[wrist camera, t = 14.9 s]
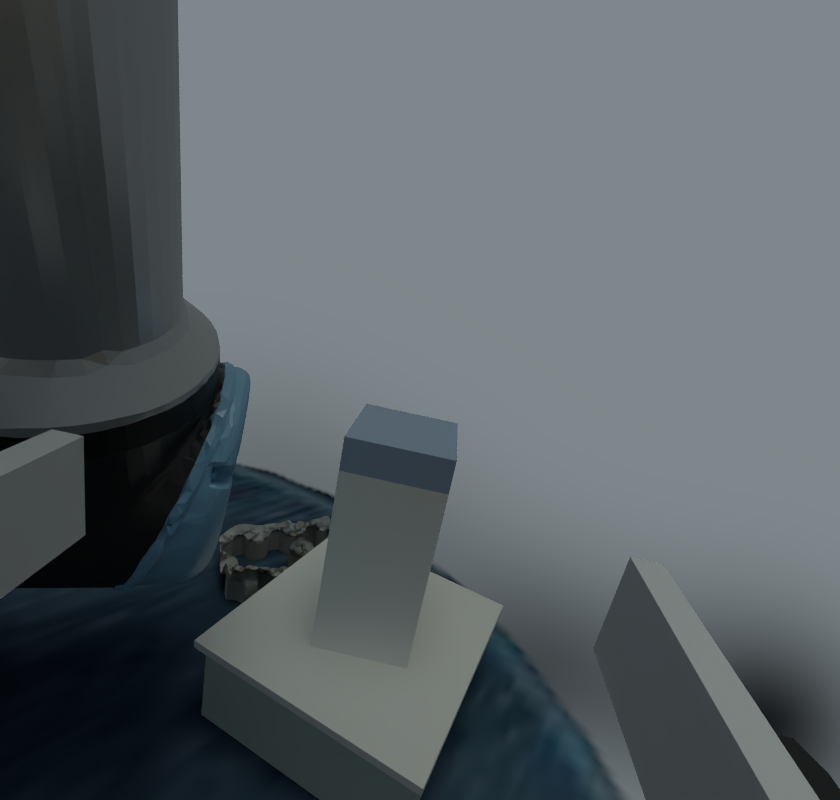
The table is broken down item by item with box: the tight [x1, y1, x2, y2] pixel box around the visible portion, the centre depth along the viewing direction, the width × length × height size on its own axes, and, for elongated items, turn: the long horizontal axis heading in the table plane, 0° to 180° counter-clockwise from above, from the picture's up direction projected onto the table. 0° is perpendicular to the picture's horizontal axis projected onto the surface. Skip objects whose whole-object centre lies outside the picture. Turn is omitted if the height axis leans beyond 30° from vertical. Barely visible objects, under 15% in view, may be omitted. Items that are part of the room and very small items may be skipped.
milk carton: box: [311, 404, 457, 668], centre depth 29 cm, size 6×6×14 cm
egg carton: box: [219, 516, 331, 604], centre depth 43 cm, size 11×8×4 cm
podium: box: [194, 538, 503, 800], centre depth 32 cm, size 15×15×6 cm
